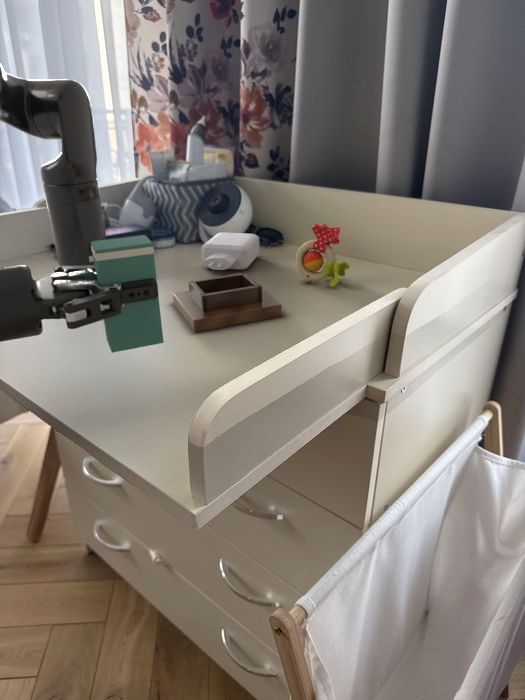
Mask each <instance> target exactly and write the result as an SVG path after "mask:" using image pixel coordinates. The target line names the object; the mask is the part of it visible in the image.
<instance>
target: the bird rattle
mask: <svg viewBox="0 0 525 700" xmlns="http://www.w3.org/2000/svg"><path fill="white" fill-rule="evenodd" d="M311 230H312V233H313V235H314V237H315V238H316V239H310V240H307V241H305V242H304V243H303V244H302V245H300V247H299V249H298V250H297V251H296V255H295V264H296V267H297V270H298V272H299V274H301V276H302V277H303V281H304V282H305V283H310V282H318V281H319V282H320V281H322V280H325V279H327V278H328V281H329V286H330V287H331V288H335V287H336V286H337V284H338V283H340V279H339V276H340V277H345V276H346V270H348V269H350V264H349V263H348V262H347V261H341V262H337V256H336V253H335V251H334V249H333V247H332V246H331V244H333V245H338V244H340V242H341V240H340V237H339V235H340V231H341V227H339V226H338V227H337V226H335V227H329V226H328V225H327V224H325V223H322V224H317V223H316V224H315V223H314V224H313V225H311ZM322 254H323V255H324V256H323V255H322ZM325 258H326V261H325ZM324 262H325V263H324ZM321 269H322V270H321Z"/></svg>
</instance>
